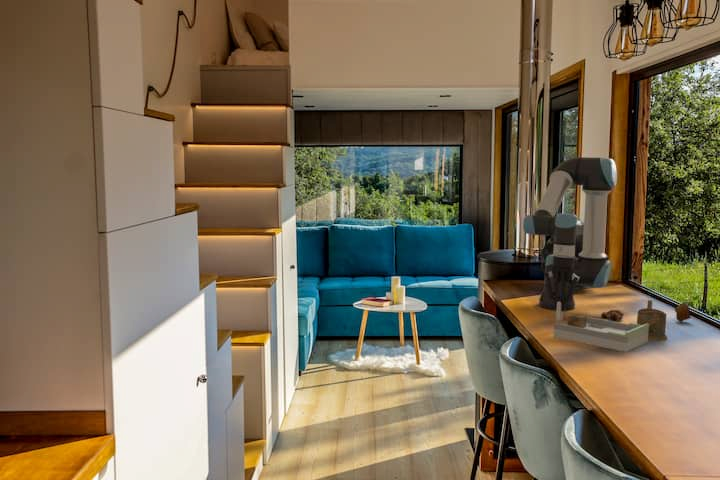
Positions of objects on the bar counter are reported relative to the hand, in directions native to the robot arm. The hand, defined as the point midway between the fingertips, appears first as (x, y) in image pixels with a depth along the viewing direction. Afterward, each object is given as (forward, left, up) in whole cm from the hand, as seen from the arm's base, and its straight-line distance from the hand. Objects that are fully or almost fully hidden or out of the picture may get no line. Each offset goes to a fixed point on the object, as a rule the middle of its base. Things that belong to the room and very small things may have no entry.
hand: (559, 319), depth 257 cm
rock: (+28, +55, -5) cm, 62 cm away
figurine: (+7, +33, -5) cm, 34 cm away
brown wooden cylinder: (+25, +21, -5) cm, 33 cm away
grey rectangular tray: (+16, 0, -4) cm, 16 cm away
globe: (-36, +87, -5) cm, 94 cm away
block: (+7, 0, -1) cm, 7 cm away
